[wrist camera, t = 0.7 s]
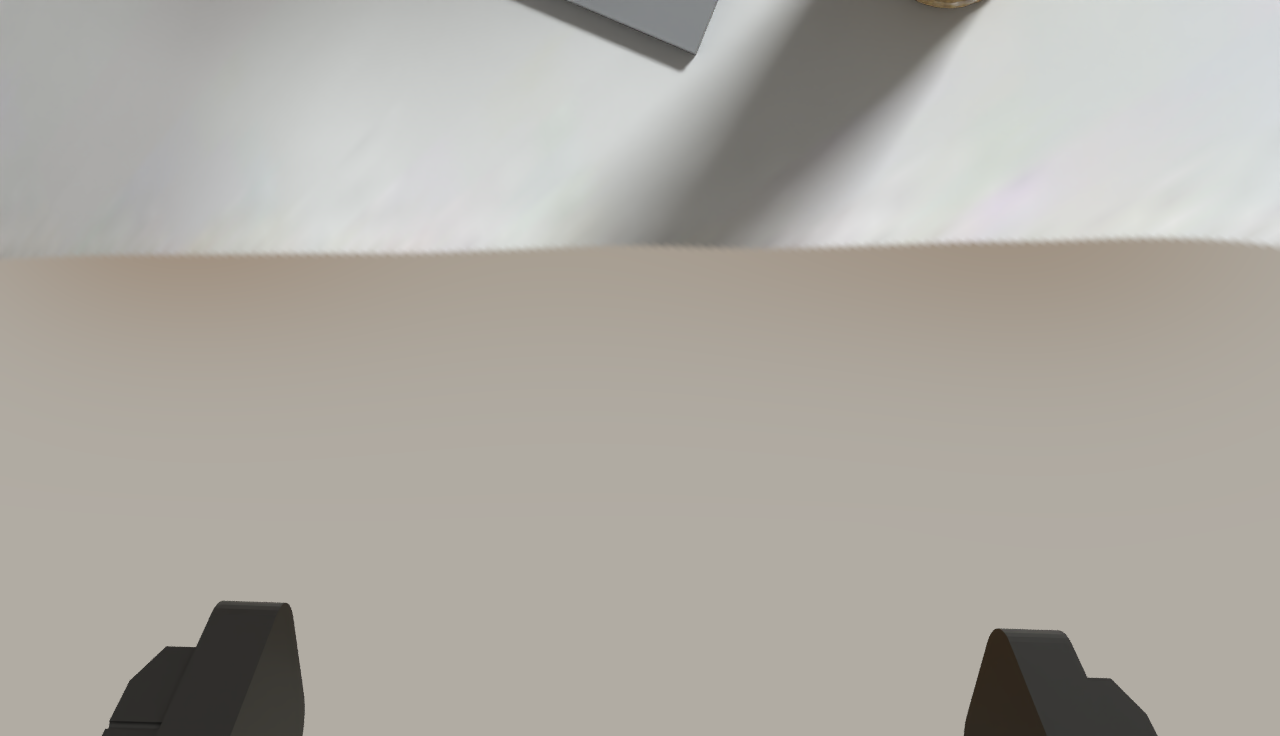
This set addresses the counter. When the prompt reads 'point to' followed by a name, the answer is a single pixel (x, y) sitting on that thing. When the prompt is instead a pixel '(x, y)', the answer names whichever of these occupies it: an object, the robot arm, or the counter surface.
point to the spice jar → (948, 3)
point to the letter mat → (659, 18)
